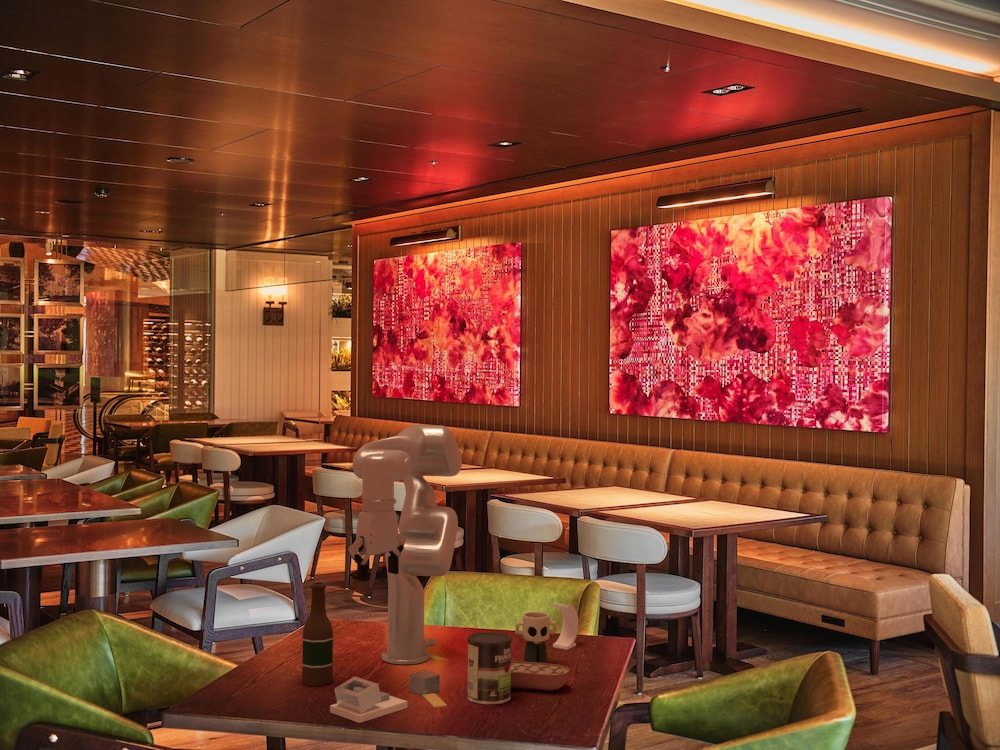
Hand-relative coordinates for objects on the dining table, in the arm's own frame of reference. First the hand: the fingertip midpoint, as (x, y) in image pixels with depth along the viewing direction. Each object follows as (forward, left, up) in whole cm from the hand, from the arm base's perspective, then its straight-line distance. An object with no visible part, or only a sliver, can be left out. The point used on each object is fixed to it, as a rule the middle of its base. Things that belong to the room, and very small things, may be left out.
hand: (378, 576), depth 246 cm
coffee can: (-13, +25, -27) cm, 39 cm away
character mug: (-42, +15, -27) cm, 52 cm away
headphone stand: (-62, +9, -27) cm, 68 cm away
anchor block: (-6, +11, -26) cm, 29 cm away
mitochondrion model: (-24, +25, -27) cm, 44 cm away
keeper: (+12, +12, -26) cm, 31 cm away
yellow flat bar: (-2, +18, -26) cm, 32 cm away
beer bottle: (+7, -13, -27) cm, 31 cm away
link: (+15, +12, -24) cm, 31 cm away
